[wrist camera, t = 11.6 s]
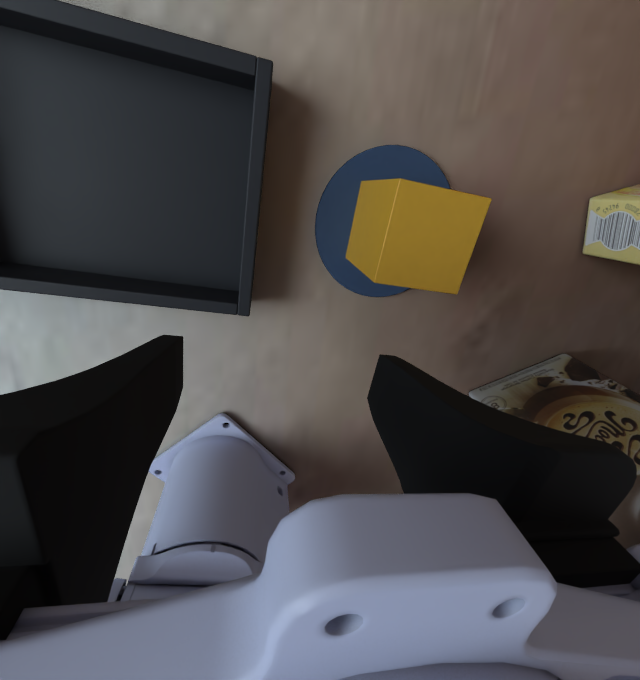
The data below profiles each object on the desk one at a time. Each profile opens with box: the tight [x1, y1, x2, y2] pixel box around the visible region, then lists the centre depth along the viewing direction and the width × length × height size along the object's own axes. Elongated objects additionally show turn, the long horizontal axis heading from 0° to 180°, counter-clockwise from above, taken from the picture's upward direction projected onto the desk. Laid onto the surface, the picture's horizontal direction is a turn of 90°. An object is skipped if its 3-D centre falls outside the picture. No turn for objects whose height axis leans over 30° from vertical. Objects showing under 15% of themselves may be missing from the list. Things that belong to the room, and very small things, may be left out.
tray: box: [0, 0, 273, 316], centre depth 16 cm, size 15×12×3 cm
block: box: [346, 178, 492, 294], centre depth 17 cm, size 4×4×6 cm
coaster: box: [315, 145, 450, 297], centre depth 20 cm, size 9×9×1 cm
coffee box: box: [469, 354, 640, 549], centre depth 21 cm, size 9×6×16 cm
